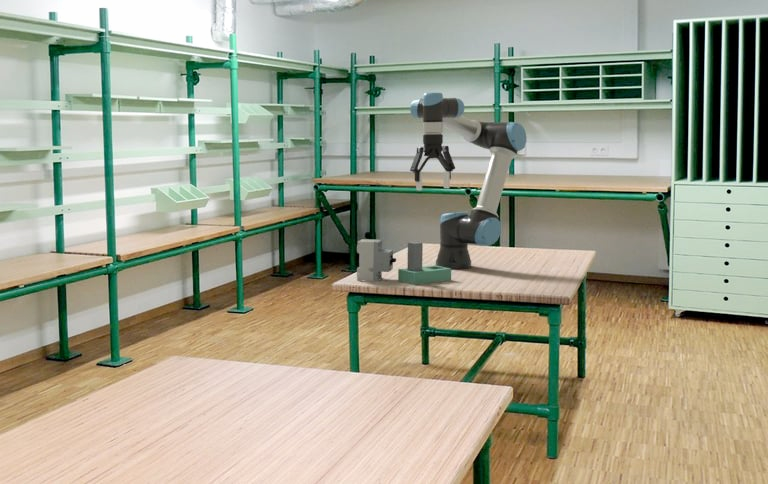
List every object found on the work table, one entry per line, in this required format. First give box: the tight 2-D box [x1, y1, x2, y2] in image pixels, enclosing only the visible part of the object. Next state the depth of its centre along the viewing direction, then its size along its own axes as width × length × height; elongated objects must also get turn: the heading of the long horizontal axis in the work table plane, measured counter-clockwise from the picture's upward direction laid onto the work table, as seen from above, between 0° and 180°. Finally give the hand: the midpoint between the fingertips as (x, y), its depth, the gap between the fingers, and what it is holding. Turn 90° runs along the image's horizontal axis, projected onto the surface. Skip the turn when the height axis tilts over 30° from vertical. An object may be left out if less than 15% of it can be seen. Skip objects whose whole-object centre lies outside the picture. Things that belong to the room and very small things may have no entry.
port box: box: [397, 264, 452, 286], centre depth 330 cm, size 18×10×4 cm, turn 125°
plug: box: [407, 241, 424, 272], centre depth 326 cm, size 4×4×15 cm
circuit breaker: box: [356, 238, 397, 282], centre depth 331 cm, size 8×14×15 cm, turn 78°
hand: (433, 189), depth 331 cm, fingers open, 13 cm apart
